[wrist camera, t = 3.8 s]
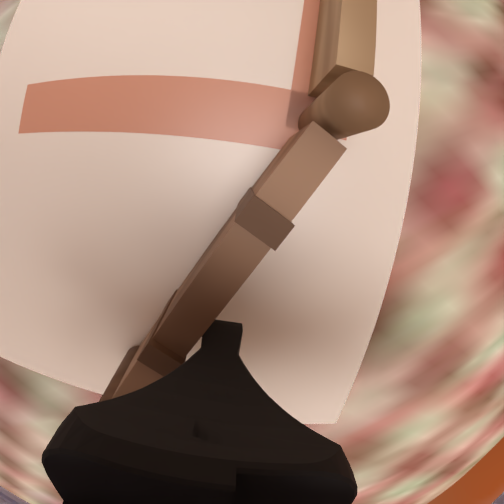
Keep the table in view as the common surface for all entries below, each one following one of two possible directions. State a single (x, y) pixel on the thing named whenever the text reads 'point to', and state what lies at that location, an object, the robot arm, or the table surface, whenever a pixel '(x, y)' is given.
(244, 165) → the card
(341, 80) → the fence fixed
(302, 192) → the fence panel
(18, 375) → the table surface
